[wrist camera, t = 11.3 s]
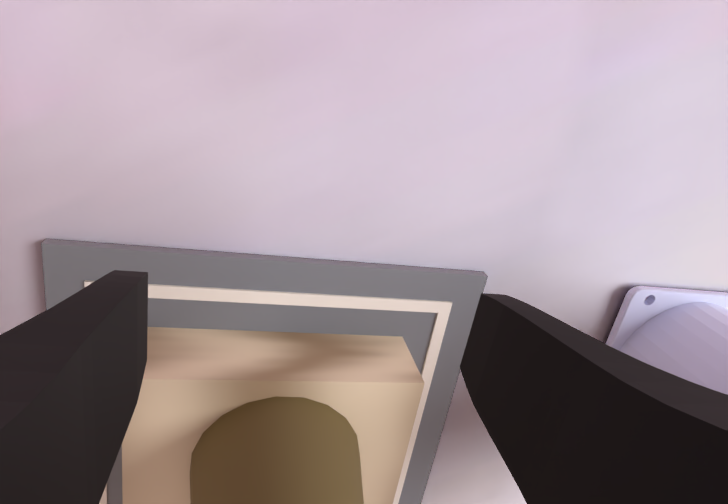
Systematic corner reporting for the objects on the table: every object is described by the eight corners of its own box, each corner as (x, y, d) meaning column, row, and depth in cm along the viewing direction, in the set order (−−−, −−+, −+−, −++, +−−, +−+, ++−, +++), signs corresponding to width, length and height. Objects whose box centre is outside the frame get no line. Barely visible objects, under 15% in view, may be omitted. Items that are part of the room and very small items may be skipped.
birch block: (402, 336, 21) (424, 382, 18) (361, 511, 24) (374, 571, 22) (140, 326, 18) (121, 378, 16) (139, 523, 22) (123, 592, 19)
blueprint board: (483, 271, 21) (488, 277, 20) (410, 526, 26) (412, 534, 26) (45, 239, 17) (40, 244, 16) (67, 547, 22) (63, 557, 22)
